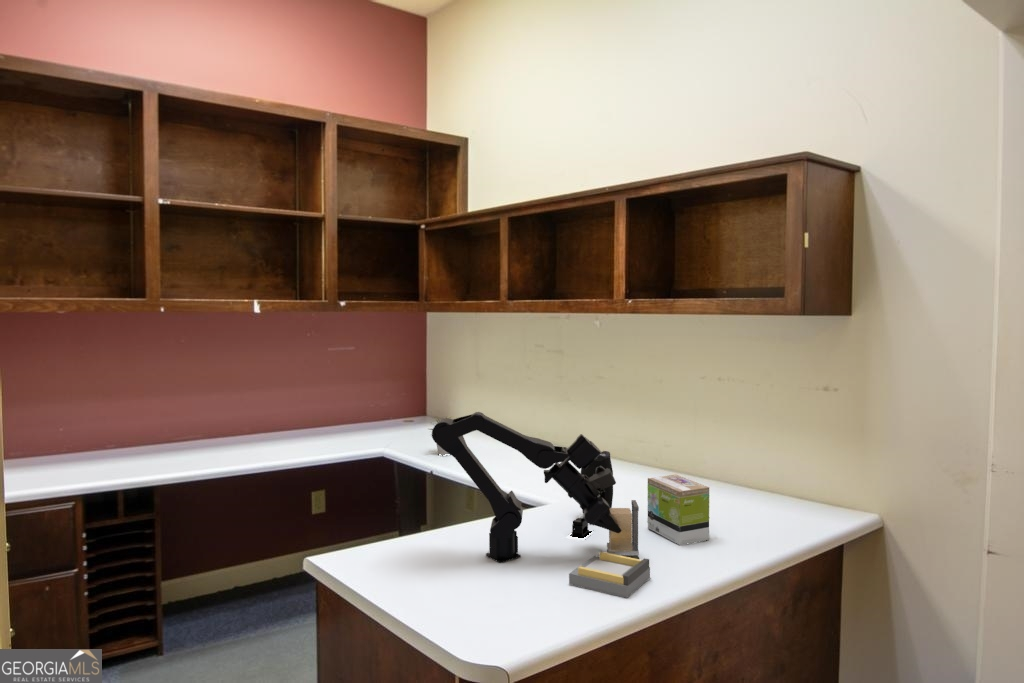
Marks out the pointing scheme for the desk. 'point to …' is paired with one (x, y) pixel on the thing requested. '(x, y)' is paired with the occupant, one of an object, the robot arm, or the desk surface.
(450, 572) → the desk surface
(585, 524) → the build plate
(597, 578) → the dock
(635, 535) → the trolley
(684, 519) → the tea box
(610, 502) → the portable speaker
